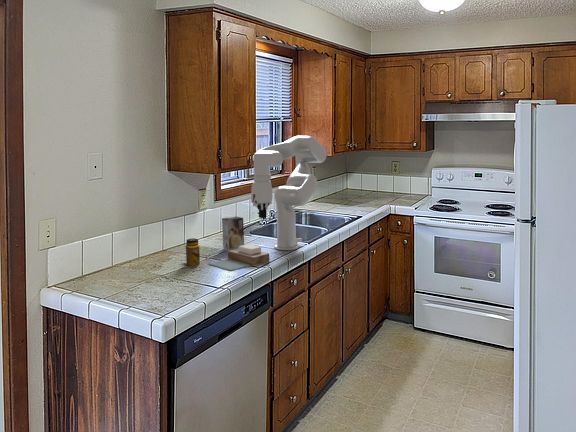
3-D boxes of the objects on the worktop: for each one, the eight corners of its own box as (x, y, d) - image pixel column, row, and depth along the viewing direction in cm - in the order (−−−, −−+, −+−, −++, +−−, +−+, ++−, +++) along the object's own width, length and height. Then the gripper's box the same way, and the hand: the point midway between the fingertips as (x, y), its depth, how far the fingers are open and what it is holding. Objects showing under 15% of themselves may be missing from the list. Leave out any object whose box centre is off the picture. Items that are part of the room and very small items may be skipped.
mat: (228, 259, 257) (228, 258, 257) (250, 265, 246) (250, 264, 246) (208, 264, 249) (208, 263, 249) (230, 271, 238) (230, 270, 238)
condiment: (201, 266, 246) (200, 240, 244) (182, 268, 244) (181, 241, 242) (200, 262, 253) (199, 237, 251) (181, 263, 251) (180, 238, 249)
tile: (248, 249, 261) (248, 244, 260) (261, 252, 254) (261, 247, 254) (238, 251, 256) (238, 246, 256) (251, 254, 250) (251, 249, 250)
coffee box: (238, 246, 284) (237, 216, 281) (244, 248, 279) (243, 217, 276) (222, 249, 278) (221, 218, 275) (229, 251, 273) (228, 219, 270)
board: (244, 255, 265) (243, 247, 264) (269, 261, 253) (269, 253, 252) (227, 259, 258) (227, 250, 258) (253, 266, 246) (252, 257, 245)
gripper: (268, 177, 263) (269, 214, 267) (244, 179, 253) (245, 218, 256) (279, 178, 258) (279, 216, 261) (255, 181, 248) (256, 220, 251)
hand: (262, 217), depth 259 cm, fingers closed
